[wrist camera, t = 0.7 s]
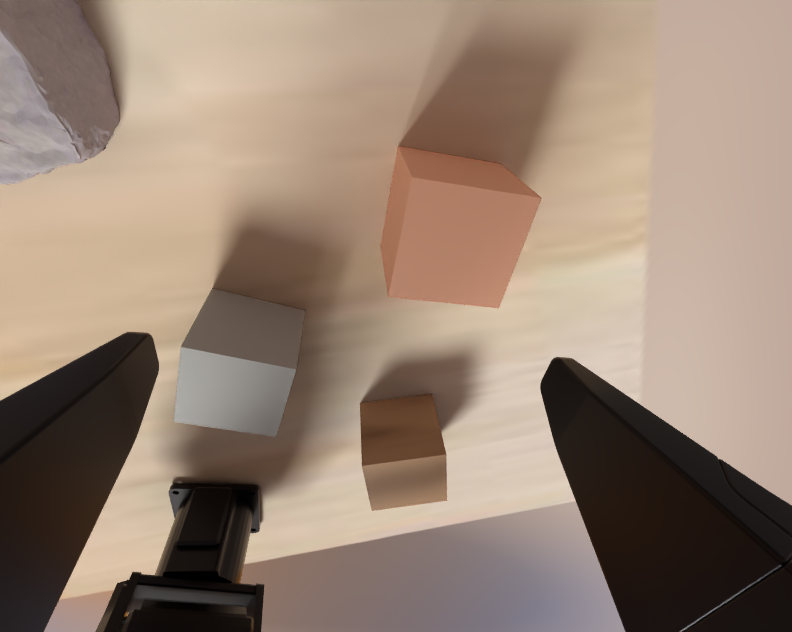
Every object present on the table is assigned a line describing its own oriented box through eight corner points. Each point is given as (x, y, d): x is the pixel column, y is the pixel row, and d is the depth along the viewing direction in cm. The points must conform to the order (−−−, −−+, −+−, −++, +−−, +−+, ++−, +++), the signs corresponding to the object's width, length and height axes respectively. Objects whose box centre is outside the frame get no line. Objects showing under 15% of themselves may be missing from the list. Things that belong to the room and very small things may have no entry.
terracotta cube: (470, 257, 22) (498, 308, 18) (380, 245, 21) (388, 296, 17) (500, 163, 19) (541, 197, 15) (397, 145, 18) (412, 177, 14)
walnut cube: (433, 438, 30) (446, 500, 26) (368, 447, 30) (372, 510, 26) (431, 392, 28) (446, 454, 24) (360, 401, 27) (362, 465, 23)
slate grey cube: (287, 372, 25) (275, 436, 21) (203, 356, 24) (173, 421, 20) (305, 309, 23) (296, 369, 19) (212, 287, 21) (180, 346, 17)
